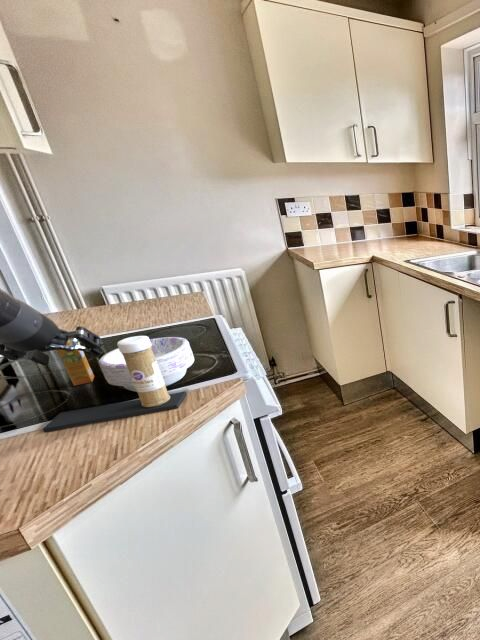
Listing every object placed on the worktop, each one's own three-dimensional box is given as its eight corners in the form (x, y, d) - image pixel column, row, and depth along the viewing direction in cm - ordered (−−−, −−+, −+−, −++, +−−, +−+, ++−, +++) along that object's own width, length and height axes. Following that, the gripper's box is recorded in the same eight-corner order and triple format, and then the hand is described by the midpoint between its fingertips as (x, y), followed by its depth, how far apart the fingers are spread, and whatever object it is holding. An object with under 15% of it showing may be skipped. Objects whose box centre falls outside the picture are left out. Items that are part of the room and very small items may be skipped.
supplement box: (72, 386, 92) (52, 344, 88) (75, 381, 94) (56, 339, 91) (93, 382, 94) (74, 340, 90) (95, 377, 96) (77, 336, 92)
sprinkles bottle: (138, 410, 80) (111, 345, 75) (147, 399, 84) (122, 337, 79) (167, 405, 82) (142, 341, 77) (174, 394, 86) (151, 333, 81)
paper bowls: (98, 405, 84) (81, 369, 81) (129, 374, 97) (116, 342, 94) (188, 390, 89) (176, 356, 86) (206, 362, 102) (196, 332, 99)
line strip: (44, 432, 75) (42, 428, 75) (61, 416, 80) (60, 412, 80) (178, 408, 82) (176, 404, 82) (186, 394, 87) (185, 391, 87)
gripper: (65, 300, 81) (114, 336, 95) (-37, 311, 76) (30, 347, 90) (62, 335, 78) (112, 367, 92) (-44, 348, 73) (27, 379, 87)
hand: (72, 357), depth 91 cm, fingers open, 8 cm apart
